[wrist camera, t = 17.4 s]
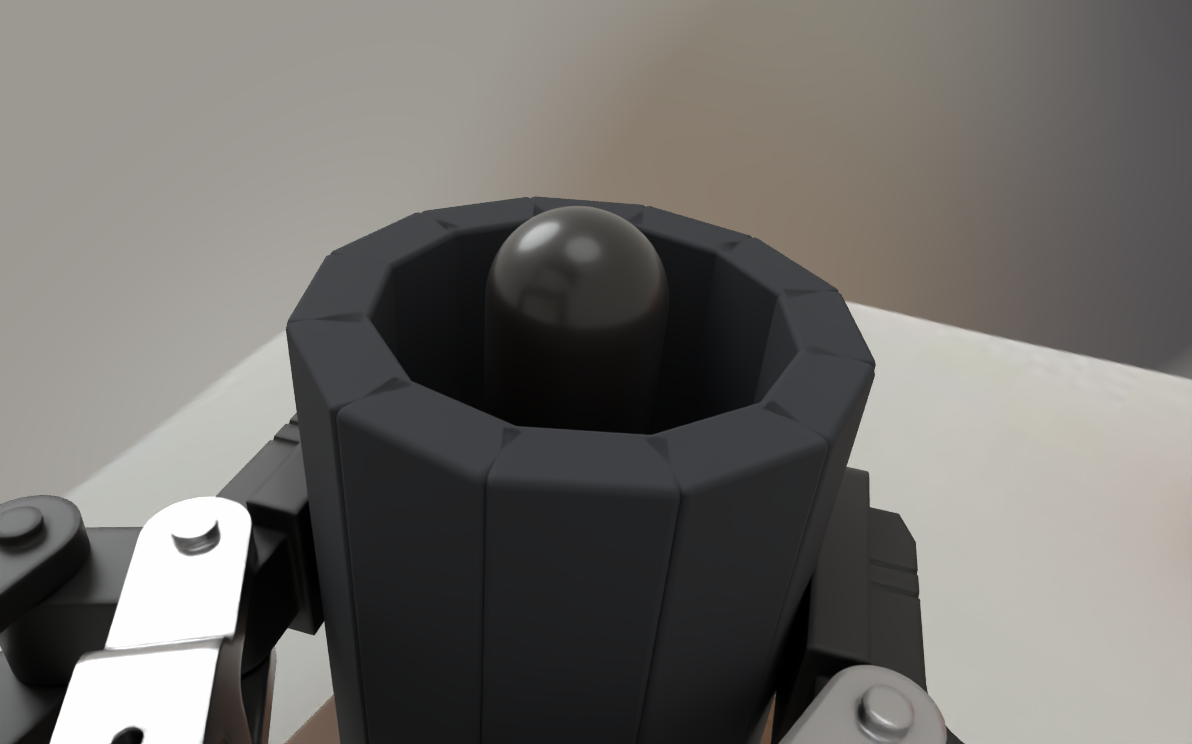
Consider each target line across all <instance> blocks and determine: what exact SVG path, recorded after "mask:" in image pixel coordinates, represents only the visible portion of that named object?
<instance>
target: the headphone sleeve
mask: <svg viewBox="0 0 1192 744" xmlns="http://www.w3.org/2000/svg"><path fill="white" fill-rule="evenodd" d="M568 206H587V207H594V208H598V209H602V210H605V211H608V212H611V213H613V214H616V215H618V216H620V217H622V218H623V219H625V220H626V221H628V222H630V223H631V224H632V225H634V226H635V227H636V228H637V229H638V230H639V231H641V232H642V233H643V234H644V235H645V237H646V238H647V239H648V240H649V241H650V243H651V244H652V245H653V247H654V248H655V250H656V252H657V254H658V255H659V257H660V259H661V261H662V264H663V266H664V269H665V272H666V276H667V280H668V285H669V312H668V319H667V326H666V333H665V339H664V346H663V353H662V360H661V367H660V373H659V380H658V387H657V394H656V400H655V407H654V414H653V421H652V427H651V434H650V435H643V434H628V433H612V432H597V431H582V430H567V429H551V428H536V427H521V426H515V425H512V424H510V423H508V422H506V421H503V420H501V419H499V418H496V417H494V416H492V415H489V414H487V413H485V412H483V406H484V337H485V292H486V282H487V278H488V274H489V270H490V268H491V265H492V263H493V260H494V258H495V256H496V254H497V252H498V251H499V249H500V247H501V246H502V244H503V243H504V242H505V241H506V239H507V238H508V237H509V236H510V235H511V234H512V233H513V232H514V231H515V230H516V229H517V228H518V227H519V226H521V225H522V224H523V223H525V222H526V221H528V220H530V219H531V218H533V217H534V216H537V215H539V214H541V213H544V212H546V211H549V210H552V209H556V208H562V207H568ZM286 333H287V341H288V349H289V356H290V364H291V371H292V379H293V387H294V394H295V402H296V410H297V417H298V425H299V432H300V440H301V448H302V455H303V463H304V470H305V478H306V486H307V493H308V501H309V508H310V516H311V524H312V531H313V539H314V546H315V554H316V562H317V569H318V577H319V585H320V592H321V600H322V607H323V615H324V623H325V630H326V638H327V645H328V653H329V661H330V668H331V676H332V683H333V691H334V699H335V706H336V714H337V721H338V729H339V737H340V744H760V742H761V739H762V736H763V732H764V729H765V726H766V723H767V720H768V716H769V713H770V710H771V707H772V704H773V700H774V697H775V694H776V689H777V686H778V683H779V679H780V676H781V673H782V670H783V666H784V663H785V660H786V657H787V654H788V650H789V647H790V644H791V641H792V637H793V634H794V631H795V628H796V625H797V621H798V618H799V615H800V612H801V608H802V605H803V602H804V599H805V596H806V592H807V589H808V586H809V583H810V579H811V576H812V573H813V571H814V569H815V566H816V563H817V559H818V556H819V553H820V550H821V546H822V543H823V540H824V537H825V534H826V530H827V527H828V524H829V521H830V518H831V514H832V511H833V508H834V505H835V502H836V498H837V495H838V492H839V489H840V486H841V482H842V479H843V476H844V473H845V470H846V466H847V463H848V460H849V457H850V453H851V450H852V447H853V444H854V441H855V437H856V434H857V431H858V428H859V425H860V421H861V418H862V415H863V412H864V409H865V405H866V402H867V399H868V396H869V393H870V389H871V386H872V383H873V380H874V377H875V373H874V369H875V366H876V365H875V360H874V358H873V356H872V354H871V352H870V350H869V348H868V346H867V344H866V342H865V340H864V338H863V336H862V334H861V332H860V330H859V328H858V326H857V325H856V323H855V321H854V319H853V317H852V315H851V313H850V311H849V309H848V307H847V305H846V303H845V301H844V299H843V297H842V295H841V294H840V293H838V290H837V289H836V288H835V287H833V286H832V285H830V284H828V283H827V282H825V281H824V280H822V279H821V278H819V277H818V276H816V275H814V274H813V273H811V272H809V271H808V270H806V269H805V268H803V267H802V266H800V265H799V264H797V263H795V262H794V261H792V260H790V259H789V258H788V257H786V256H784V255H783V254H781V253H780V252H778V251H777V250H775V249H773V248H772V247H770V246H769V245H767V244H765V243H764V242H762V241H761V240H759V239H757V238H752V237H751V236H750V235H746V234H743V233H739V232H736V231H732V230H729V229H726V228H722V227H719V226H715V225H712V224H709V223H705V222H702V221H698V220H695V219H692V218H688V217H685V216H681V215H678V214H674V213H671V212H668V211H664V210H661V209H657V208H654V207H651V206H647V207H645V206H643V205H637V204H624V203H612V202H599V201H586V200H573V199H560V198H547V197H532V198H528V197H523V198H516V199H509V200H502V201H494V202H486V203H480V204H472V205H464V206H457V207H449V208H442V209H435V210H427V211H424V212H422V213H414V214H412V215H410V216H408V217H406V218H404V219H401V220H399V221H397V222H395V223H393V224H390V225H388V226H386V227H384V228H382V229H380V230H378V231H375V232H373V233H371V234H369V235H367V236H365V237H363V238H360V239H358V240H356V241H354V242H352V243H349V244H347V245H345V246H343V247H341V248H339V249H337V250H334V251H333V252H332V253H331V254H330V255H328V256H326V258H325V259H324V261H323V263H322V264H321V266H320V268H319V269H318V271H317V273H316V274H315V276H314V278H313V280H312V281H311V283H310V285H309V286H308V288H307V290H306V291H305V293H304V295H303V296H302V298H301V300H300V301H299V303H298V305H297V306H296V308H295V310H294V311H293V313H292V315H291V316H290V318H289V320H288V322H287V327H286Z"/></svg>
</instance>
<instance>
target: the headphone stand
mask: <svg viewBox="0 0 1192 744" xmlns="http://www.w3.org/2000/svg"><path fill="white" fill-rule="evenodd" d="M668 312H669V285H668V280H667V276H666V272H665V269H664V266H663V264H662V261H661V259H660V257H659V255H658V254H657V252H656V250H655V248H654V247H653V245H652V244H651V243H650V241H649V240H648V239H647V238H646V237H645V235H644V234H643V233H642V232H641V231H639V230H638V229H637V228H636V227H635V226H634V225H632V224H631V223H630V222H628V221H626V220H625V219H623V218H622V217H620V216H618V215H616V214H613V213H611V212H608V211H605V210H602V209H598V208H594V207H587V206H568V207H562V208H556V209H552V210H549V211H546V212H544V213H541V214H539V215H537V216H534V217H533V218H531V219H530V220H528V221H526V222H525V223H523V224H522V225H521V226H519V227H518V228H517V229H516V230H515V231H514V232H513V233H512V234H511V235H510V236H509V237H508V238H507V239H506V241H505V242H504V243H503V244H502V246H501V247H500V249H499V251H498V252H497V254H496V256H495V258H494V260H493V263H492V265H491V268H490V270H489V274H488V278H487V282H486V292H485V337H484V406H483V412H485V413H487V414H489V415H492V416H494V417H496V418H499V419H501V420H503V421H506V422H508V423H510V424H512V425H515V426H521V427H536V428H551V429H567V430H582V431H597V432H612V433H628V434H643V435H650V434H651V427H652V421H653V414H654V407H655V400H656V394H657V387H658V380H659V373H660V367H661V360H662V353H663V346H664V339H665V333H666V326H667V319H668ZM774 706H775V697H774V700H773V704H772V707H771V710H770V713H769V716H768V720H767V723H766V726H765V729H764V732H763V736H762V739H761V742H760V744H771V736H772V726H773V716H774ZM285 744H340V737H339V729H338V721H337V714H336V706H335V699H334V695H333V696H332V697H331V698H330V699H329V700H328V701H327V702H326V703H325V704H324V705H323V706H322V707H321V708H320V709H319V710H318V711H317V712H316V713H315V714H314V715H313V716H312V717H311V718H310V719H309V720H308V721H307V722H306V723H305V724H304V725H303V726H302V727H301V728H300V729H299V730H298V731H297V732H296V733H295V734H294V735H293V736H292V737H291V738H290V739H289V740H288V741H287V742H286V743H285Z"/></svg>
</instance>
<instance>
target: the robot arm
mask: <svg viewBox="0 0 1192 744" xmlns="http://www.w3.org/2000/svg"><path fill="white" fill-rule="evenodd" d="M917 570H918V568H917V555H916V542H915V540H914V538H913V537H912V535H911V533H910V532H909V530H908V528H907V527H906V525H905V523H904V522H903V520H902V518H901V517H900V515H899V514H897V513H893V512H888V511H884V510H880V509H875V508H871V507H870V499H869V473H868V472H867V471H863V470H859V469H854V468H850V467H846V470H845V473H844V476H843V479H842V482H841V486H840V489H839V492H838V495H837V498H836V502H835V505H834V508H833V511H832V514H831V518H830V521H829V524H828V527H827V530H826V534H825V537H824V540H823V543H822V546H821V550H820V553H819V556H818V559H817V563H816V566H815V569H814V571H813V573H812V576H811V579H810V583H809V586H808V589H807V592H806V596H805V599H804V602H803V605H802V608H801V612H800V615H799V618H798V621H797V625H796V628H795V631H794V634H793V637H792V641H791V644H790V647H789V650H788V654H787V657H786V660H785V663H784V666H783V670H782V673H781V676H780V679H779V683H778V686H777V689H776V696H775V706H774V716H773V726H772V736H771V744H964V743H963V742H962V741H960V740H959V739H958V738H957V737H956V736H955V735H954V734H953V733H952V732H951V731H950V730H949V729H948V728H947V727H946V725H945V722H944V719H943V716H942V714H941V712H940V710H939V708H938V707H937V705H936V704H935V702H934V701H933V700H932V698H931V697H930V696H929V695H928V692H927V686H926V677H925V663H924V649H923V636H922V622H921V609H920V599H918V596H919V582H918V575H917ZM323 622H324V615H323V607H322V600H321V592H320V585H319V577H318V569H317V562H316V554H315V546H314V539H313V531H312V524H311V516H310V508H309V501H308V493H307V486H306V478H305V470H304V463H303V455H302V448H301V440H300V432H299V425H298V417H297V413H296V414H295V415H294V416H293V417H292V418H291V419H290V422H289V424H285V425H284V426H283V427H282V428H281V429H280V431H279V432H278V433H277V434H276V435H275V436H274V439H273V441H271V440H270V441H269V442H268V443H267V444H266V445H265V446H264V447H263V448H262V449H261V450H260V451H259V452H258V453H257V454H256V455H255V456H254V457H253V458H252V459H251V460H250V462H249V463H248V464H247V465H246V466H245V467H244V468H243V469H242V470H241V471H240V472H239V473H238V474H237V475H236V476H235V477H234V478H233V479H232V480H231V481H230V482H229V483H228V484H227V485H226V486H225V487H224V488H223V489H222V490H221V492H220V493H219V494H218V495H217V496H216V497H199V498H193V499H189V500H184V501H181V502H179V503H176V504H173V505H171V506H169V507H167V508H165V509H164V510H162V511H160V512H159V513H157V514H156V515H155V516H153V517H152V518H151V519H150V520H149V521H148V522H147V523H146V524H145V526H144V527H98V528H85V526H84V523H83V520H82V517H81V514H80V511H79V509H78V508H77V506H76V505H75V504H73V503H72V502H71V501H69V500H67V499H64V498H61V497H57V496H47V495H39V496H28V497H23V498H18V499H15V500H11V501H8V502H5V503H3V504H0V646H1V648H2V651H1V652H0V744H268V738H269V728H270V719H271V709H272V699H273V690H274V680H275V670H276V650H275V645H276V643H277V642H278V640H279V639H280V638H281V636H282V635H283V633H284V632H285V631H286V629H287V628H290V629H293V630H297V631H300V632H304V633H307V634H311V635H315V634H316V632H317V631H318V629H319V628H320V626H321V625H322V623H323Z"/></svg>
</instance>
